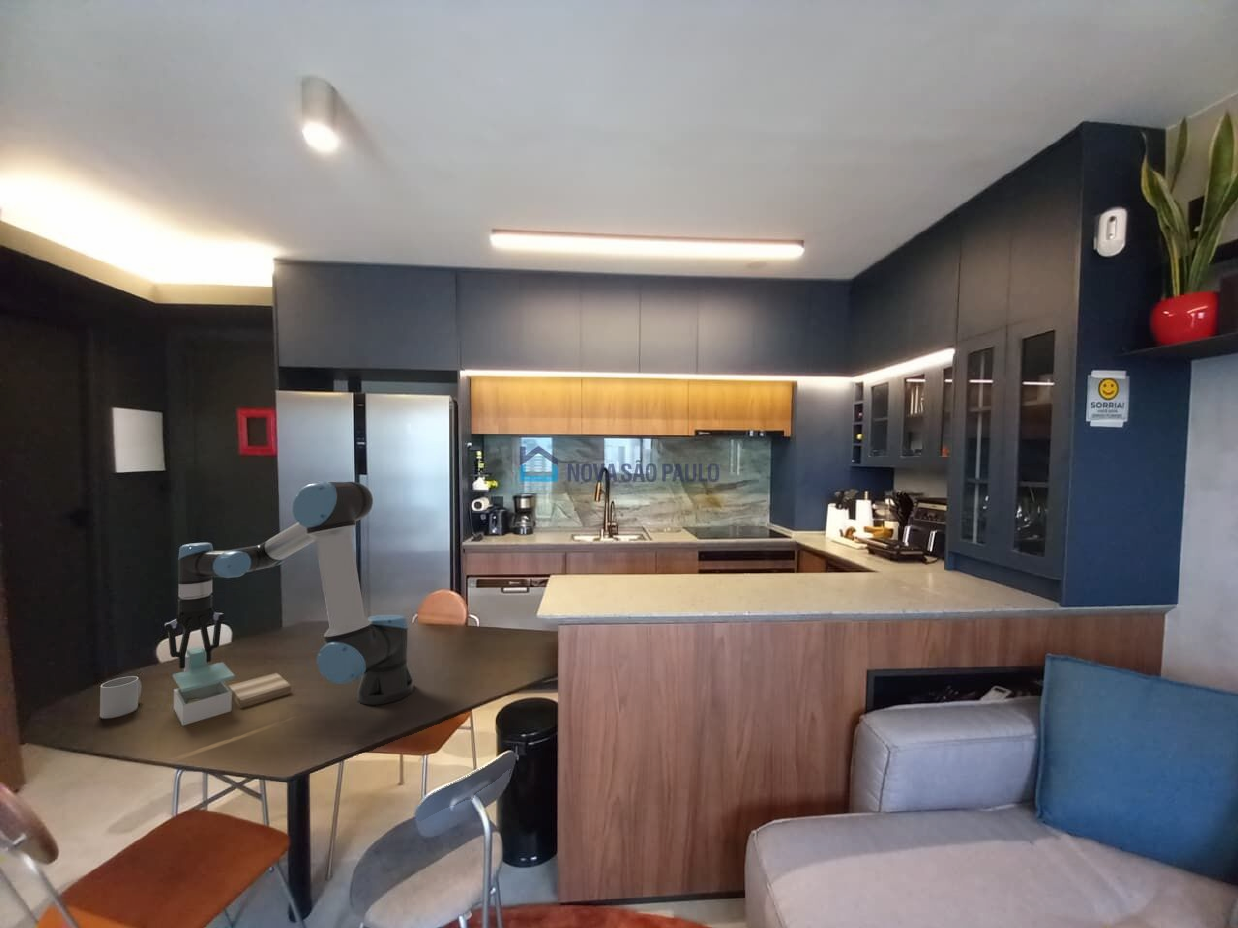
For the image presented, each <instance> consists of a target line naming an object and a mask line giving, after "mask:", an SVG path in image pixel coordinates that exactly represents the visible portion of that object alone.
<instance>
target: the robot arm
mask: <svg viewBox="0 0 1238 928" xmlns="http://www.w3.org/2000/svg"><path fill="white" fill-rule="evenodd" d="M373 502H374V499H373V494H372V492H371V491H370V489H369V488H367V487H366V486H365V485H364V484H362V483H360V482H357V481H322V482H315V483H310V484H306V485H305V486H304V487H302V488H301V489H300V490H299V491H298V493H297V494H296V495H295V496H294V500H293V502H292V514H293V518H294V520H295V521H296V523H295V524H293V525H291V526H290V527H287V528H286V529H285V530H284V529H283V530H282V531H281V532H279V533H277V534H275V535H274V536H272V537H271V538H269V539H268V540H266V541H264V542H262V543H261V544H258V545H253V546H246V547H240V548H233V549H229V550H228V549H227V550H214V547H213V544H212V543H211V542H195V543H187V544H183V545H181V546H180V547H179V549H178V551H179V552H178V558H177V561H178V562H177V563H178V566H177V567H178V570H177V571H178V573H177V574H178V577H177V578H178V580H177V581H178V590H177V591H178V596H177V597H178V600H177V615H176V617H175V619H172V620H171V621H170V622H169V621H167V622H165V623H164V627H165V629H166V630H167V636H168V645H169V646H168V647H169V655H170V656H171V657H172V658H178V667H179V669H183V671H187V670H189V656H188V655H187V649H188V645H189V640H190V636H191V633H192V630H194V629H196V628H197V629H200V634H201V638H202V644H203V649H204V650H205V651H206V664H207V663H210V662H211V661H212V651H213V650H215V649H217V648H219V647H220V640H221V630H222V623H223V620H224V619H225V616H226V615H225V614H224V613H223V612H215V611H214V609H213V595H212V593H213V578H225V579H231V578H239V577H242V576H244V575H245V574H247V573H250V572H253V571H258V570H264V569H268V568H269V569H270V568H274V567H276V566H279V565H282V564H283V563H284V562H285V561H286V560H287V558H288V557H289V556H291V555H293V554H295V553H296V552H298V551H300V550H301V549H304V548H305V547H307V546H309V545H310V544H312V543H314V542H315V548H316V553H317V560H318V565H319V572H320V577H321V578H320V579H321V584H322V590H323V595H324V600H325V608H326V609H325V610H326V613H327V614H326V615H327V620H328V625H329V627H328V629H327V630H326V631H325V633H324V634H323V637H324V642H325V645H324V646H323V647H321V648H320V650H319V652H318V654H317V660H316V663H317V667H318V671H319V672H320V673H321V675H322V676H323V677H324V678H325V679H328V680H329V681H330V682H331V683H334V684H338V685H339V684H340V685H344V684H348V683H351V682H352V681H354V680H357V679H359V678H360V682H359V685H358V688H357V691H356V694H357V696H356V698H357V699H356V700H357V701H358V702H359V703H360V704H364V705H368V706H369V705H370V706H371V705H373V706H374V705H383V704H384V705H385V704H389V703H393V702H396V701H398V700H401V699H403V698H405V697H408V696H409V694H411V693H412V691H413V690H414V679H413V675H411V674H412V673H411V671H410V668H409V665H408V630H409V627H408V619H407V617H405V616H404V615H402V614H378V615H371V616H368V617H366V616H365V612H364V611H365V609H364V604H363V599H362V598H363V597H362V593H361V587H360V586H361V584H360V581H359V574H358V567H357V563H356V562H357V561H356V557H355V551H354V550H355V549H354V545H353V539H352V531H353V530H355V528H356V522H358V521H359V520H362V519H363V518H365V517H366V516H368V514H369V513H370V512H371V510H372V508H373V504H374V503H373ZM212 618H213V620H214V625H213V634H212V642H211V641H210V637H209V631H208V626H207V624H208V623H209V622H210V620H212ZM177 624H179V625H180V626H182V628H183V631H182V635H181V636H182V637H181V641H180V646H179V650H178V651H177V642H176V641H177V639H176V631H175V629H176V628H177Z"/></svg>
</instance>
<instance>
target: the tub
mask: <svg viewBox="0 0 1238 928" xmlns="http://www.w3.org/2000/svg"><path fill="white" fill-rule="evenodd" d="M194 697H200V700H198V701H194V702H190V703H187V700H188V699H191V698H194ZM232 701H233V698H232V692H231V690H230V689H229V686H228V685H227V684H226V682H225V681H224V682H220V683H216V684H213V685H209V686H205V687H201V688H198V689H194V690H190V691H185V692H182V691H181V690H180V688H179V687H178V688H174V689H173V710H174V712H175V714H176V716H177V718H178V720H179V721H180V724H181V725H182V726H186V725H190V724H193V723H196V722H200V721H203V720H206V719H207V720H208V719H209V718H212V717H216V716H219V715H223V714H226V713H229V712H232Z"/></svg>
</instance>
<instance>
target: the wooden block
mask: <svg viewBox="0 0 1238 928" xmlns="http://www.w3.org/2000/svg"><path fill="white" fill-rule="evenodd" d="M228 688H229V689H230V690H231V692H232V700H233V701H234V702H235V703H236V704H237V706H238V707H239V708H240V709H242V708H246V707H250V706H252V705H256V704H259V703H263V702H265V701H270V700H272V699H275V698H279V697H283V696H286V695H289V694H291V693H292V686H291V684H290V682H288V681H287V680H286V679H285V678H283V676H281V675H280V674H279V673H278V672H275V673H270V674H267V675H263V676H262V675H261V676H259V677H255V678H251V679H248V680H247V679H246V680H244V681H241V682H236V683H233V684H229V685H228Z"/></svg>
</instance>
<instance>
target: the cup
mask: <svg viewBox="0 0 1238 928" xmlns="http://www.w3.org/2000/svg"><path fill="white" fill-rule="evenodd" d="M99 693H100V694H99V701H100V702H99V718H100V719H113V718H117V717H121V716H126V715H128V714H130V713H132V712H134V711H136V710H137V709H138V708H139V698H140V696H141V693H142V682H141V680H140V679H139V677H138V676H135V675H131V676H124V677H123V676H122V677H118V678H114V679H112V680H111V679H110V680H108V681H106V682H104V683H102V684H101V685H100V692H99Z"/></svg>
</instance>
